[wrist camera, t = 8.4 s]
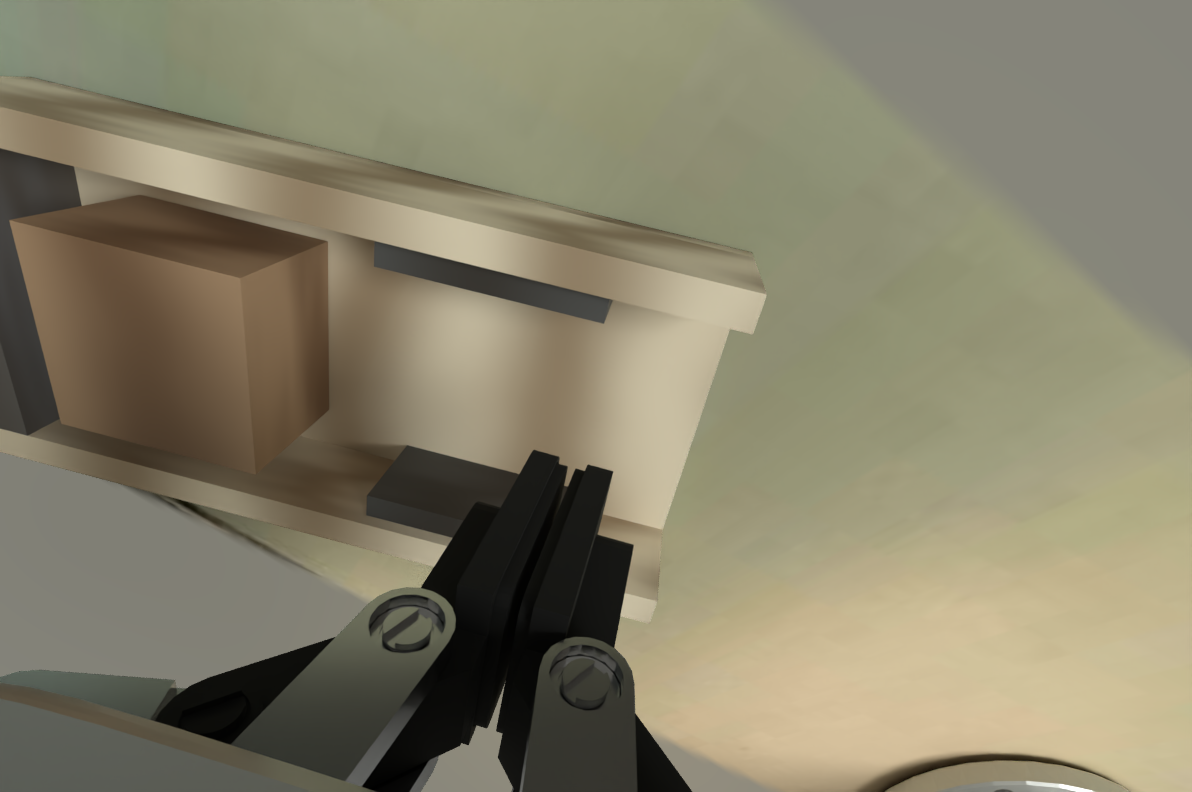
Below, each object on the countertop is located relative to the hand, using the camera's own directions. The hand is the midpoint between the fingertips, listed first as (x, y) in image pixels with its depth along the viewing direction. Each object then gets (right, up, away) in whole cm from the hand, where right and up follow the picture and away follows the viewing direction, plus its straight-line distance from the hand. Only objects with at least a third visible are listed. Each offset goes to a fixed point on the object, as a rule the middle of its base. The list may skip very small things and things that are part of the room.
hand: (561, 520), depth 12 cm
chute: (-7, +5, +8) cm, 11 cm away
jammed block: (-11, +6, +8) cm, 15 cm away
